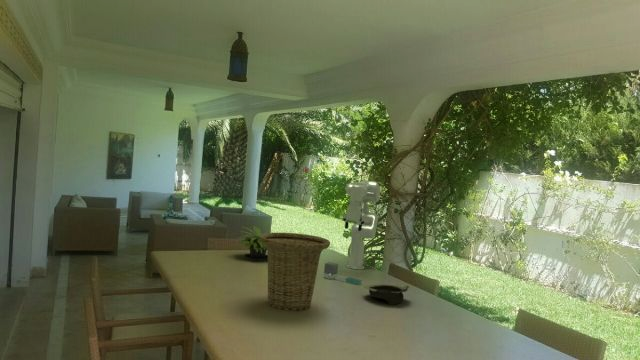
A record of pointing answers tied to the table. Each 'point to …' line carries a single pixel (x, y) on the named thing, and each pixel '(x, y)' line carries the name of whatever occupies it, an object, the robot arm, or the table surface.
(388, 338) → the table surface
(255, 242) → the fern plant
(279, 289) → the wicker basket
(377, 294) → the stone bowl
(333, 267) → the brushed grey cube
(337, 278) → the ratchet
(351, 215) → the robot arm
